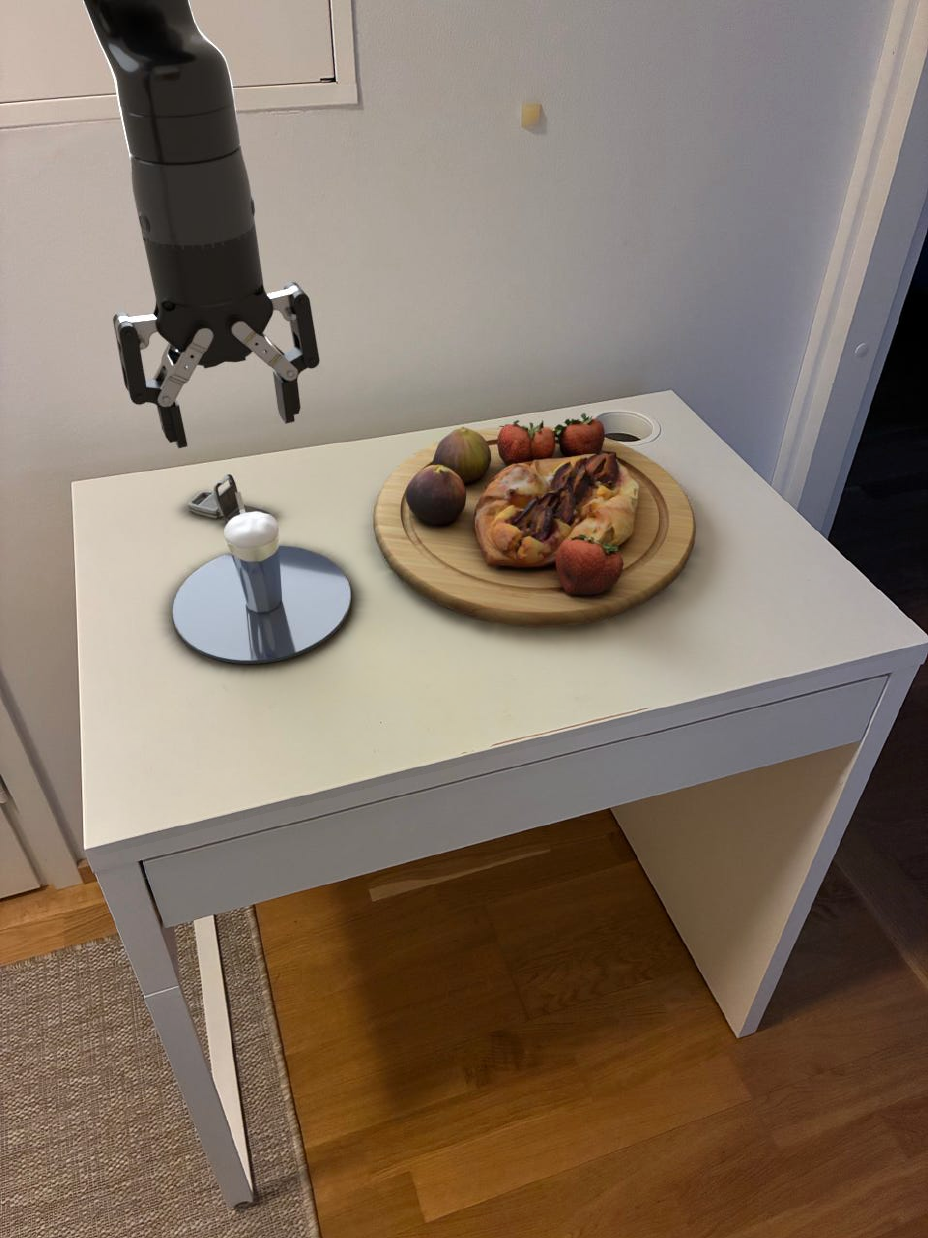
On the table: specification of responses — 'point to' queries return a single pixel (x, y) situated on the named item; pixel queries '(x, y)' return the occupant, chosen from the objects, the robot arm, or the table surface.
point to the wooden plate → (534, 524)
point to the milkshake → (256, 557)
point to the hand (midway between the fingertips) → (234, 430)
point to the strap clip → (220, 502)
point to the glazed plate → (239, 635)
